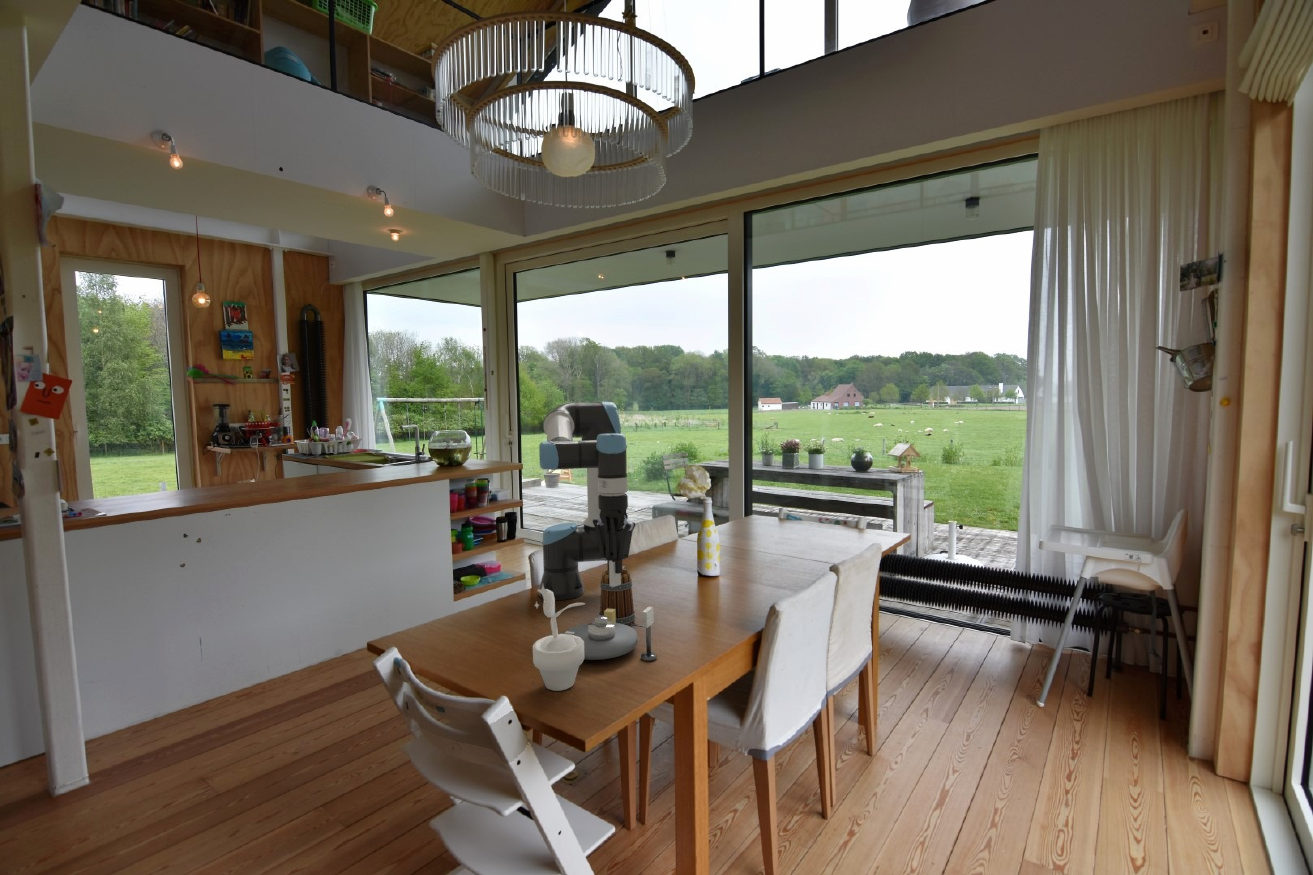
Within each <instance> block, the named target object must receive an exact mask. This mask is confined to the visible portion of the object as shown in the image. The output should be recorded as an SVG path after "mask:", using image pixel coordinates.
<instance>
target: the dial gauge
mask: <svg viewBox="0 0 1313 875" xmlns="http://www.w3.org/2000/svg"><path fill="white" fill-rule="evenodd" d="M654 617H655V616H654V607H653V606H648V607H646V608H645V609H644V610H642V618H641V619H642V624H637V623H633V624H631V626H633V627H639V628H643V629H645V641H646V642H645V643H646V644H645V645H646V646H645V647H646V650H645V652H642V653H641V654H640V660H641V661H643V662H654V661H657V659H658V655H657V653H656V652H653V651H652V633H651V632H652V628H651V627H652V625H653V624H654V622H655V620H654ZM631 626H630V627H631Z"/></svg>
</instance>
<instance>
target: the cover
mask: <svg viewBox="0 0 1313 875" xmlns="http://www.w3.org/2000/svg"><path fill="white" fill-rule="evenodd" d="M588 623H589V624H588V638H589V639H590V640H592V641H598V642H601V641H608V640H611V639H613V638H614V637H615V623H614V622H612V621H608V620H607V616H605V615H599V614H598V615H596V616H595V617H594V621H591V622H588Z"/></svg>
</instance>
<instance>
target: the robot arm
mask: <svg viewBox="0 0 1313 875" xmlns="http://www.w3.org/2000/svg"><path fill="white" fill-rule="evenodd" d="M620 420H621V419H620V415H619V411H618V407H617V405H616V403H614V402H612V401H603V400H602V401H586V402H585V401H582V402H579V401H577V402H571V401H570V402H566V403H562V404H560V405H558V406H555V407H554V408H553V409H552V410H550V411H549V412H548V413H547V415H545V418H544V421H543V431H544V433H545V435H546V441H542V442H540V443H539V446H538V450H539V452H538V453H539V454H538V455H539V467H540V469H542V470H552V471H556V470H557V471H558V470H572V469H573V470H574V469H575V470H576V469H577V470H578V469H586V485H587V487H586V489H587V496H586V497H587V517H586V519H584V520H583V526H581V527H578V524H577V523H575V522H563V523H557V524H553V525H551V526H549V527H547V528H546V529H544V530H543V532H542V542H541V543H542V544H541V545H542V553H543V554H542V556H543V557H542V558H543V559H542V560H543V562H542V563H543V573H542V576H541V581H540V584H539V586H538V590H541V589H542V585H543V586H544V589H548V590H550V591H552V592H553V594H554V598H555V601H563V600H565V601H566V600H571V599H575V598H579V597H581V596H582V595H584V593H585V584H584V582H583V580H582V576H581V573H580V571H579V563H582V562H599V561H602V562H603V561H605V562H606V565H607V570H608V572H609V581H610V586H612V587H615V586H618V585H621V573H622V566H623V560H625V559H628V558H629V555H630V549H631V543H632V538H633V537H632V536H633V532H634V529H635V527H636V522H631V521H630V520H629V519H628V518H629V517H628V513H627V509H628V507H629V499H628V497H629V496H628V494H627V492H628V473H627V471H628V470H627V469H628V468H627V466H628V465H627V462H628V461H627V459H628V458H627V448H628V445H627V437H626V435H625V433H622V431H621V429H622V428H621V421H620ZM574 438H575V439H577V438H578V439H579V438H580V439H581V440H574ZM538 595H539V597H540V598H541V599H544V598H543V595H542V594H541V593H540V592H538Z"/></svg>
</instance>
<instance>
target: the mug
mask: <svg viewBox="0 0 1313 875" xmlns="http://www.w3.org/2000/svg"><path fill="white" fill-rule="evenodd" d="M632 586H633V581H632V578H631V572H630V570H628V569H627V566H626V565H622V573H621V585H618V586H615V587H612V586H610V581H609V572H608V569H606V570H605V571H602V574H601V580H600V602H599V603H600V604H599V605H600V606H599V612H598V616H599V615H604V611H605V610H606V609H607V608H608V609H615V611H616V623H620V624H624V625H627V626H630V627H631V624H635V619H636V613H635V610H634V600H633V589H632Z"/></svg>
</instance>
